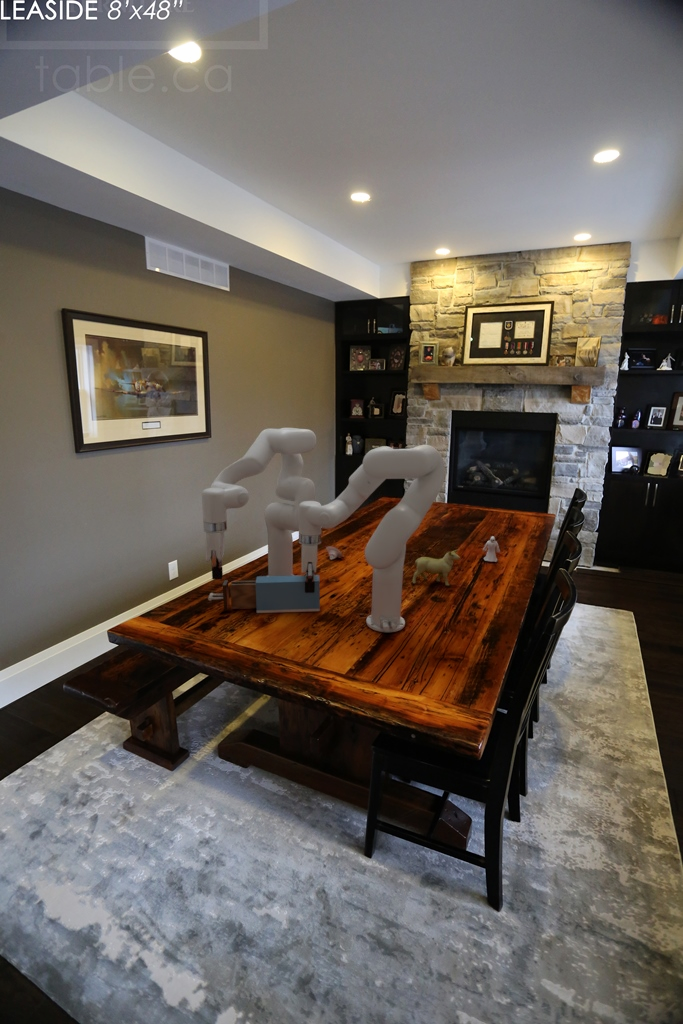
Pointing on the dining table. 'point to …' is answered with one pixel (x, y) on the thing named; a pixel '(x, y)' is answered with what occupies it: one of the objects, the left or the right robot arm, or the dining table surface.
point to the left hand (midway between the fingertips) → (217, 578)
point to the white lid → (333, 552)
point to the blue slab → (286, 594)
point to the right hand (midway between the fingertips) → (309, 588)
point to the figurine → (491, 550)
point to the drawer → (238, 595)
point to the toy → (435, 566)
